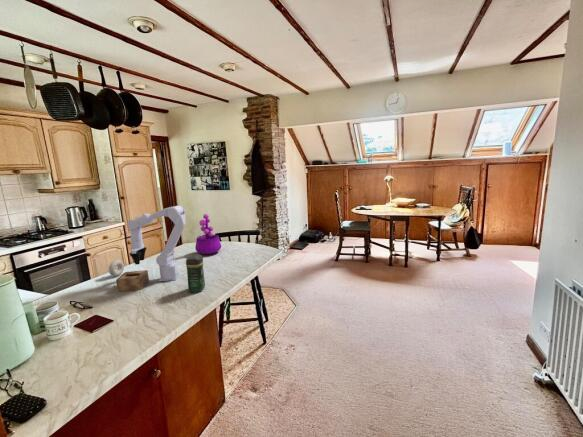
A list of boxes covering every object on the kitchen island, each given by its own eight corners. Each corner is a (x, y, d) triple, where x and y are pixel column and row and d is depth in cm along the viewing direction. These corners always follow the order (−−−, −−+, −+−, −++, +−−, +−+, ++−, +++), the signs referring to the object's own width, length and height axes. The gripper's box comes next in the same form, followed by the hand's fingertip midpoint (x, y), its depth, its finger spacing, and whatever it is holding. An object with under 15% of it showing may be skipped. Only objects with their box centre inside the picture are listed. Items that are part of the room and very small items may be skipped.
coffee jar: (202, 292, 149) (199, 258, 146) (186, 293, 149) (183, 259, 145) (206, 285, 159) (204, 252, 155) (192, 286, 158) (189, 253, 155)
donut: (113, 279, 172) (110, 263, 170) (108, 278, 173) (106, 262, 171) (126, 273, 181) (124, 257, 180) (121, 272, 182) (119, 257, 180)
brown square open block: (148, 280, 168) (147, 270, 167) (141, 289, 156) (140, 277, 155) (126, 282, 166) (125, 271, 165) (117, 291, 154) (116, 279, 153)
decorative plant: (207, 258, 207) (204, 216, 201) (190, 254, 217) (186, 215, 211) (226, 251, 222) (223, 212, 217) (210, 248, 232) (207, 211, 227)
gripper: (134, 237, 173) (136, 258, 175) (124, 243, 159) (127, 266, 161) (146, 236, 174) (149, 257, 176) (138, 242, 160) (140, 265, 162)
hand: (139, 262), depth 169 cm, fingers open, 7 cm apart
